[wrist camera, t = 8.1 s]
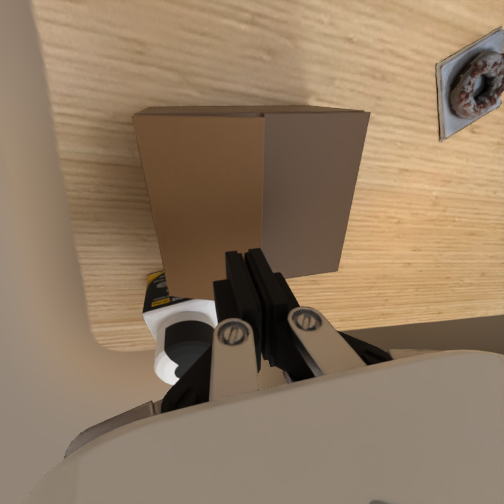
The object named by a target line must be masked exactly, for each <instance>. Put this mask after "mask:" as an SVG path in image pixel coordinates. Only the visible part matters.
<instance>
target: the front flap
mask: <svg viewBox="0 0 504 504" xmlns="http://www.w3.org/2000/svg"><path fill="white" fill-rule="evenodd" d="M132 119H133V124H134V129H135V133H136V138H137V143H138V148H139V153H140V157H141V162H142V167H143V172H144V176H145V181H146V186H147V191H148V196H149V200H150V205H151V210H152V215H153V220H154V224H155V229H156V234H157V239H158V244H159V248H160V253H161V258H162V263H163V267H164V272H165V277H166V282H167V287H168V291H169V296H175V297H184V298H193V299H202V300H211V301H214V292H213V281H217V280H224V279H226V264H225V252H228V251H237V252H238V253H242V255H243V258H244V253H245V252H248V249H253V248H261V250H262V218H263V176H264V133H265V117H228V116H154V115H134V116H132Z"/></svg>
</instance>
